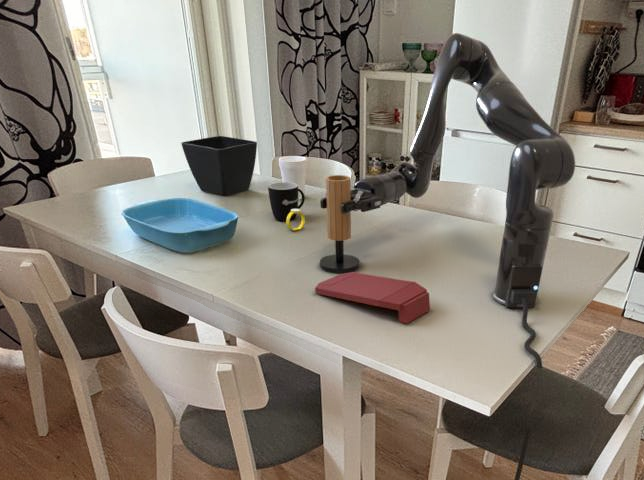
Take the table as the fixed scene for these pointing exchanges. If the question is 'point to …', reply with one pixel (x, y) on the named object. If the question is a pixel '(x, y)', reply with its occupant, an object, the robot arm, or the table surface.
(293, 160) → the foam cup
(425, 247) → the table surface
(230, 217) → the casserole dish
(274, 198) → the mug
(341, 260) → the stand
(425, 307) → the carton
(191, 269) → the table surface
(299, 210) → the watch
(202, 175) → the flower pot
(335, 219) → the wooden tube
